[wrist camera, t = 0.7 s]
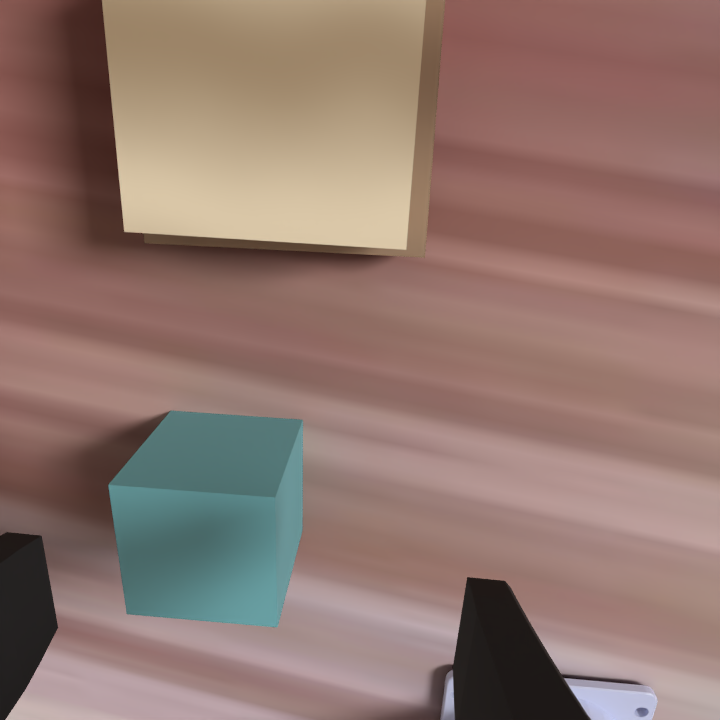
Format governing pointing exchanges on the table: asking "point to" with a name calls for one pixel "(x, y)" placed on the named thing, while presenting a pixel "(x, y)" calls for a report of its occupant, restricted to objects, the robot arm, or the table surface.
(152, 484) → the teal block
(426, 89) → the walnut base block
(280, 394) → the table surface
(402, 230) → the maple top block
